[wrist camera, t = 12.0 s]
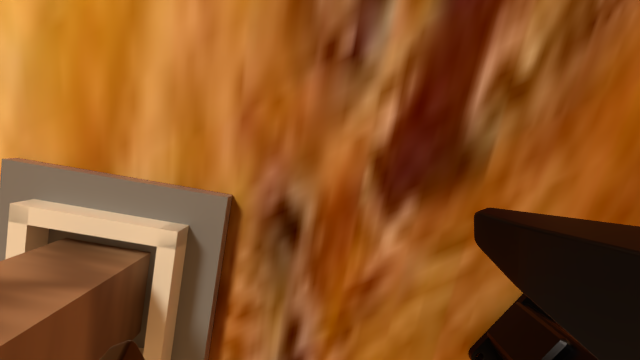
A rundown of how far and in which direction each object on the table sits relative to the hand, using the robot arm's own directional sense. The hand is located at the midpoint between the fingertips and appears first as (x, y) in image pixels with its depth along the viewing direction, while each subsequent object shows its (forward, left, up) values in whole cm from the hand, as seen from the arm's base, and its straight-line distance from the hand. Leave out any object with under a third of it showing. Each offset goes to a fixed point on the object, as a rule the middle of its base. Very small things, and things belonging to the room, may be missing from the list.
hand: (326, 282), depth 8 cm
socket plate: (+7, +12, -12) cm, 18 cm away
